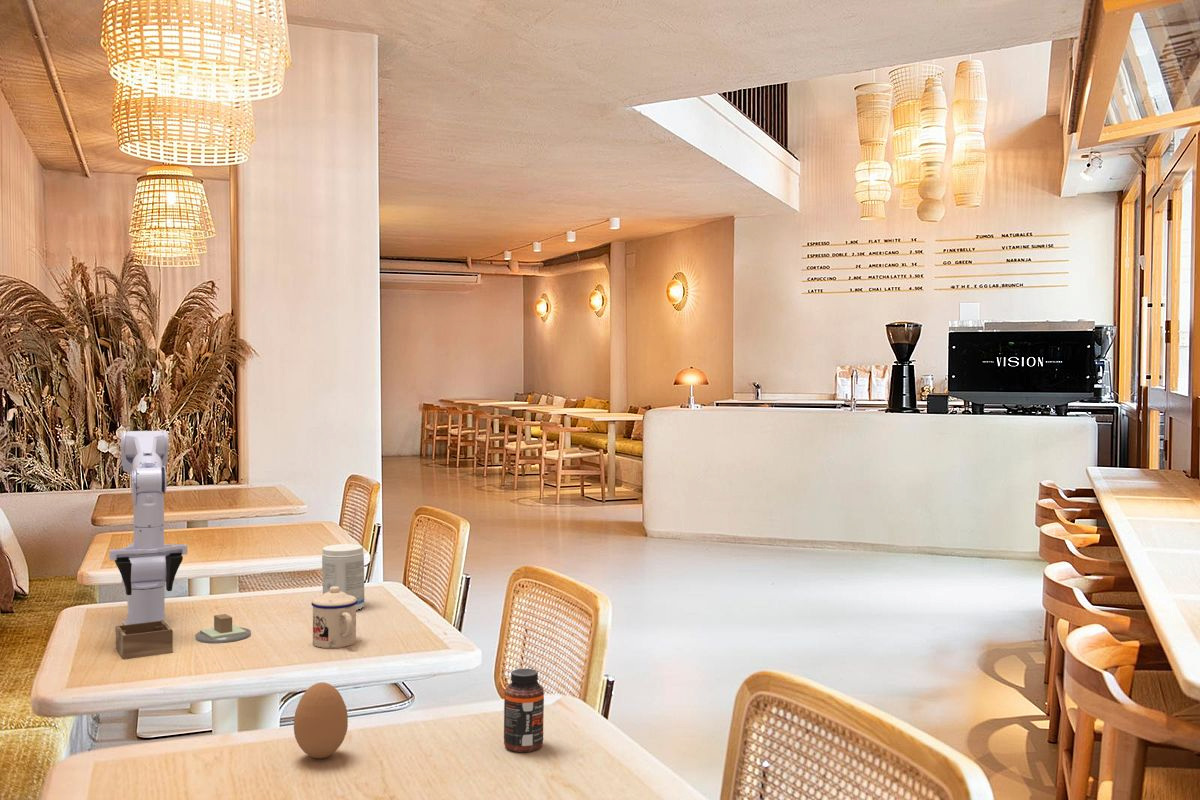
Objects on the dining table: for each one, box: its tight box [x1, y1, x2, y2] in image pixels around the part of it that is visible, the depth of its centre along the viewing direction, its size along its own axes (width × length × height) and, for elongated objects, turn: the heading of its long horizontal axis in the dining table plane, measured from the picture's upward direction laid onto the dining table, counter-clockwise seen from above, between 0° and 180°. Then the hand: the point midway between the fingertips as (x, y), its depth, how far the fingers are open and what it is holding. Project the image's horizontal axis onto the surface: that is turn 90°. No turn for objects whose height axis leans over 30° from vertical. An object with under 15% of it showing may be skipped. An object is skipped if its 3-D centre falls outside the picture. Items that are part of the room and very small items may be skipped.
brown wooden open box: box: [115, 620, 174, 660], centre depth 204 cm, size 9×9×4 cm
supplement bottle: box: [503, 668, 545, 753], centre depth 154 cm, size 6×6×11 cm
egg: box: [293, 681, 349, 760], centre depth 149 cm, size 8×8×11 cm
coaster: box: [194, 626, 252, 644], centre depth 216 cm, size 11×11×1 cm
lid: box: [199, 613, 246, 639], centre depth 216 cm, size 7×7×4 cm
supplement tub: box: [321, 543, 365, 611], centre depth 241 cm, size 10×10×15 cm
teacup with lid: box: [311, 586, 357, 649], centre depth 210 cm, size 12×9×12 cm
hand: (149, 592), depth 210 cm, fingers open, 7 cm apart
